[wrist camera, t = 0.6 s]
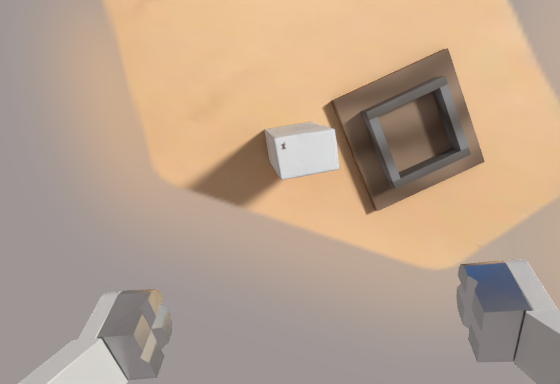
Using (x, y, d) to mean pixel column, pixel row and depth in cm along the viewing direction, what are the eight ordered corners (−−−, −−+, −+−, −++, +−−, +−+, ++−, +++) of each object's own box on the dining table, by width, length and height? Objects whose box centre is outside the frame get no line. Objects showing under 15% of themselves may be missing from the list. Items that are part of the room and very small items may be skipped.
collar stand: (331, 100, 51) (338, 101, 48) (442, 49, 51) (458, 45, 48) (374, 208, 55) (384, 216, 51) (479, 160, 55) (495, 164, 51)
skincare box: (269, 163, 52) (279, 181, 40) (263, 128, 51) (271, 137, 39) (317, 154, 52) (340, 170, 41) (312, 120, 51) (335, 126, 40)
